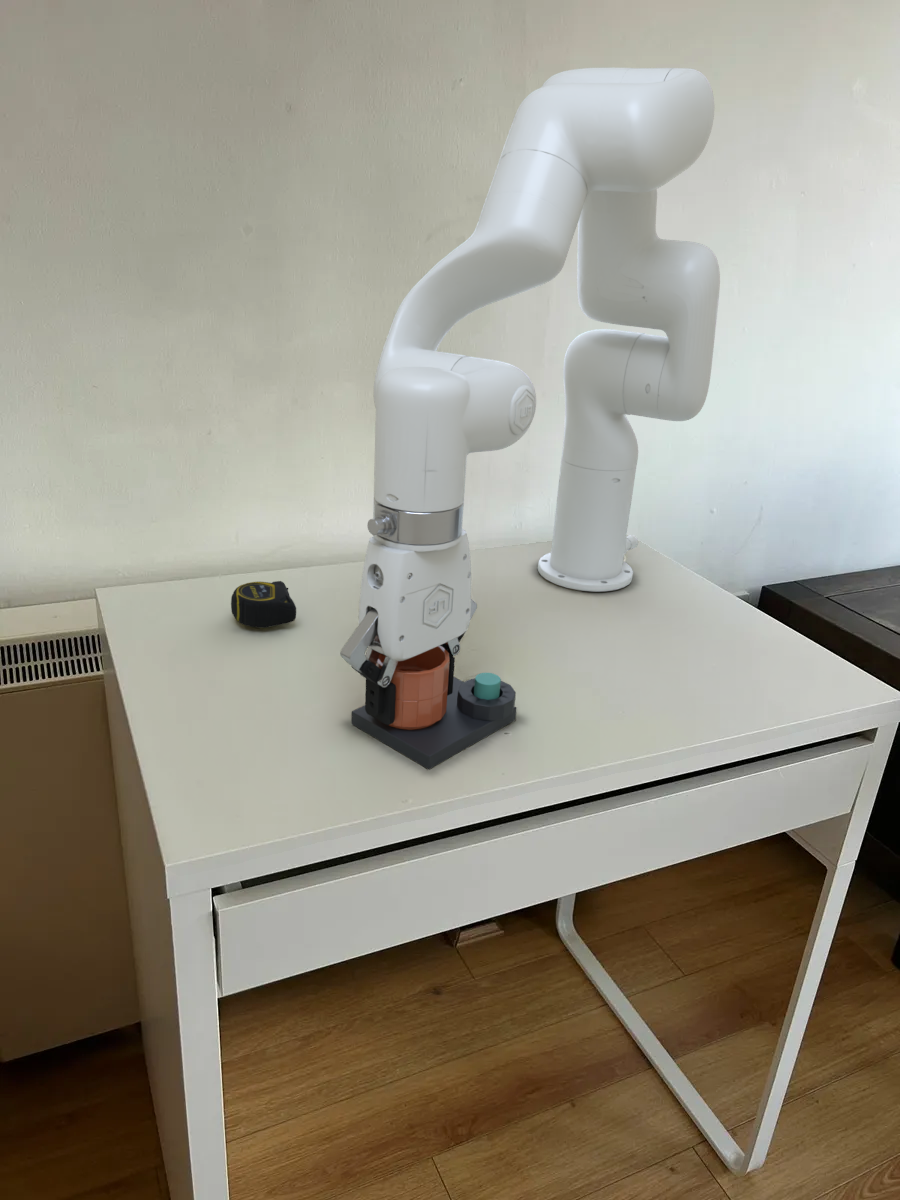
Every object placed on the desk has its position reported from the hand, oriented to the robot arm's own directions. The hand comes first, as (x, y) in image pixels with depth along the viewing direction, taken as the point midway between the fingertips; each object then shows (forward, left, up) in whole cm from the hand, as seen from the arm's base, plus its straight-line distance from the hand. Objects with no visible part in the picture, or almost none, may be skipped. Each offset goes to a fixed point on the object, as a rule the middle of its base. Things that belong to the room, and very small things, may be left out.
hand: (409, 702), depth 83 cm
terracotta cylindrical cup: (0, 0, -1) cm, 1 cm away
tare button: (-6, +4, 0) cm, 7 cm away
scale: (-2, +1, -3) cm, 4 cm away
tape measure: (-4, -27, -3) cm, 27 cm away
